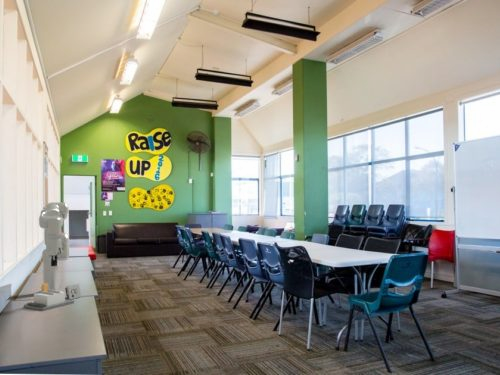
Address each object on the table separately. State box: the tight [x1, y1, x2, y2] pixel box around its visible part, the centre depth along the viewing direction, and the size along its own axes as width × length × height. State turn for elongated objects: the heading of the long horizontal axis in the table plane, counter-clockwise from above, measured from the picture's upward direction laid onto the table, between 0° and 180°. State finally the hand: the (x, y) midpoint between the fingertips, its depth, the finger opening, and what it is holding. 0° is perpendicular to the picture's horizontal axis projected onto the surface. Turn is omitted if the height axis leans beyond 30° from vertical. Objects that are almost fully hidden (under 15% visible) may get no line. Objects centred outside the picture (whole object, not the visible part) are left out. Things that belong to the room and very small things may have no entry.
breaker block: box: [23, 289, 75, 312], centre depth 252 cm, size 19×21×9 cm
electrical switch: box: [64, 283, 82, 300], centre depth 270 cm, size 9×5×9 cm, turn 152°
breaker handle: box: [41, 283, 48, 292], centre depth 254 cm, size 2×3×5 cm, turn 152°
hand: (54, 265), depth 256 cm, fingers closed
